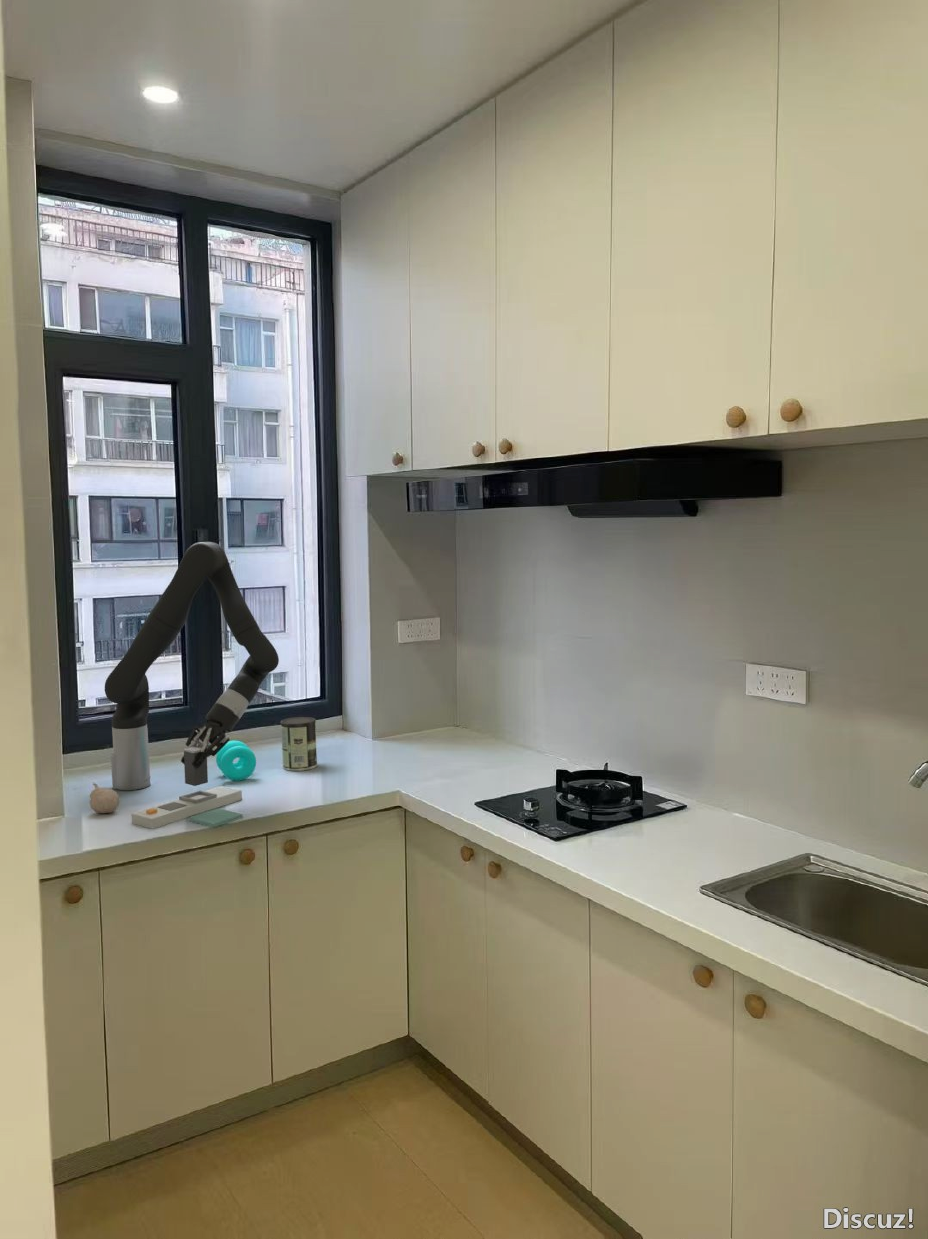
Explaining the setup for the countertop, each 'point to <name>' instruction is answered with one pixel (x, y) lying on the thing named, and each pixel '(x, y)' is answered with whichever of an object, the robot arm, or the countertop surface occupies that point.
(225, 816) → the pad
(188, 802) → the strip
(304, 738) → the coffee can
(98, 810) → the garlic bulb
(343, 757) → the countertop surface
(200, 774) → the block
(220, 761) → the donuts
